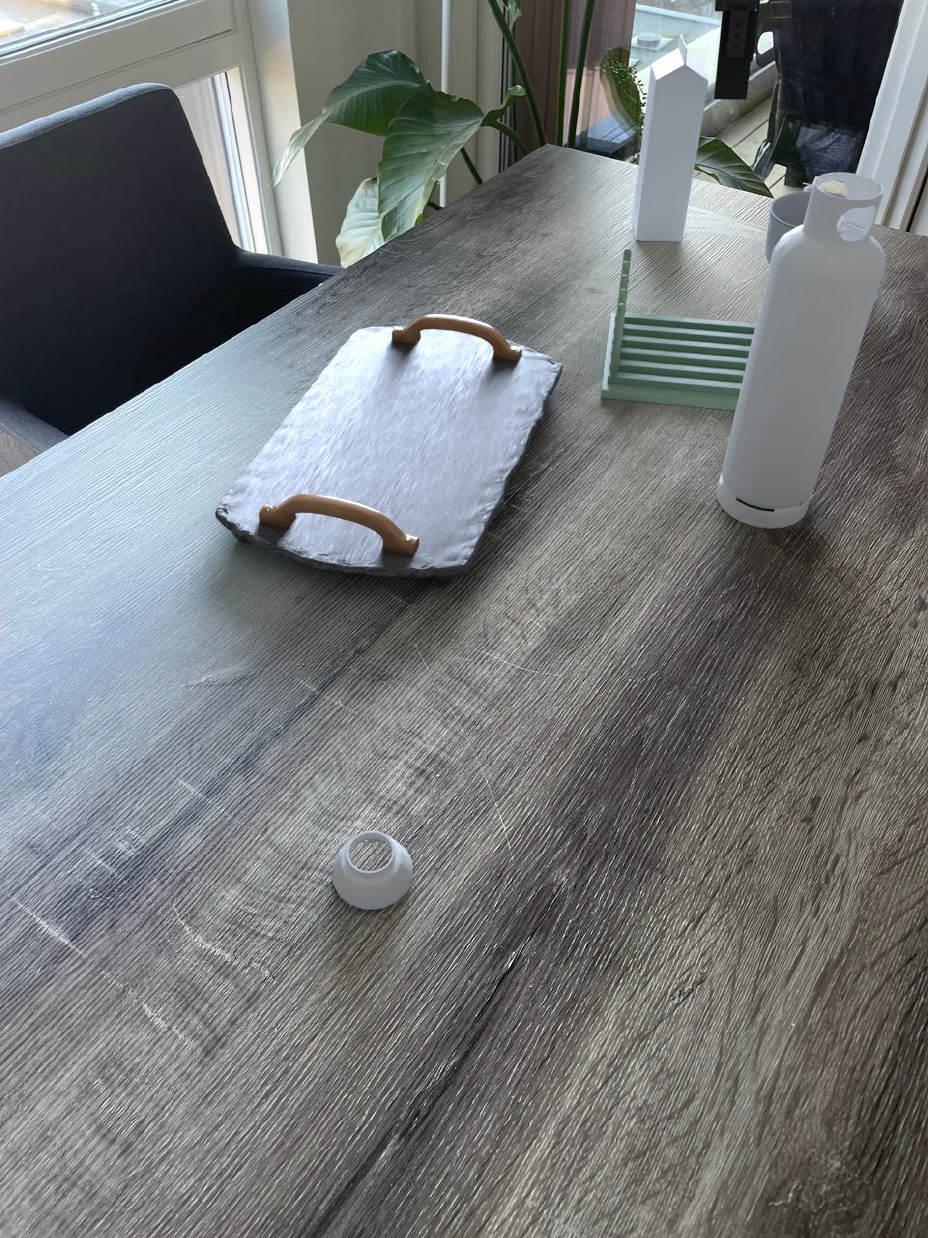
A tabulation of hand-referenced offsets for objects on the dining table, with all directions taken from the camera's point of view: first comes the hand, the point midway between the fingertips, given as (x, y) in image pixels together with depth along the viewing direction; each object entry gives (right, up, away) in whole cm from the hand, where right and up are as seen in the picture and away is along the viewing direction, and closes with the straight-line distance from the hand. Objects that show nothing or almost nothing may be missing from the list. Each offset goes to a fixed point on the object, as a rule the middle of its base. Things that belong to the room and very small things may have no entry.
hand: (734, 79), depth 90 cm
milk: (+1, +1, +39) cm, 39 cm away
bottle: (+3, -38, 0) cm, 38 cm away
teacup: (+17, -6, +32) cm, 37 cm away
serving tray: (-30, -33, +5) cm, 45 cm away
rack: (0, -22, +16) cm, 27 cm away
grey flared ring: (-30, -65, -26) cm, 76 cm away
